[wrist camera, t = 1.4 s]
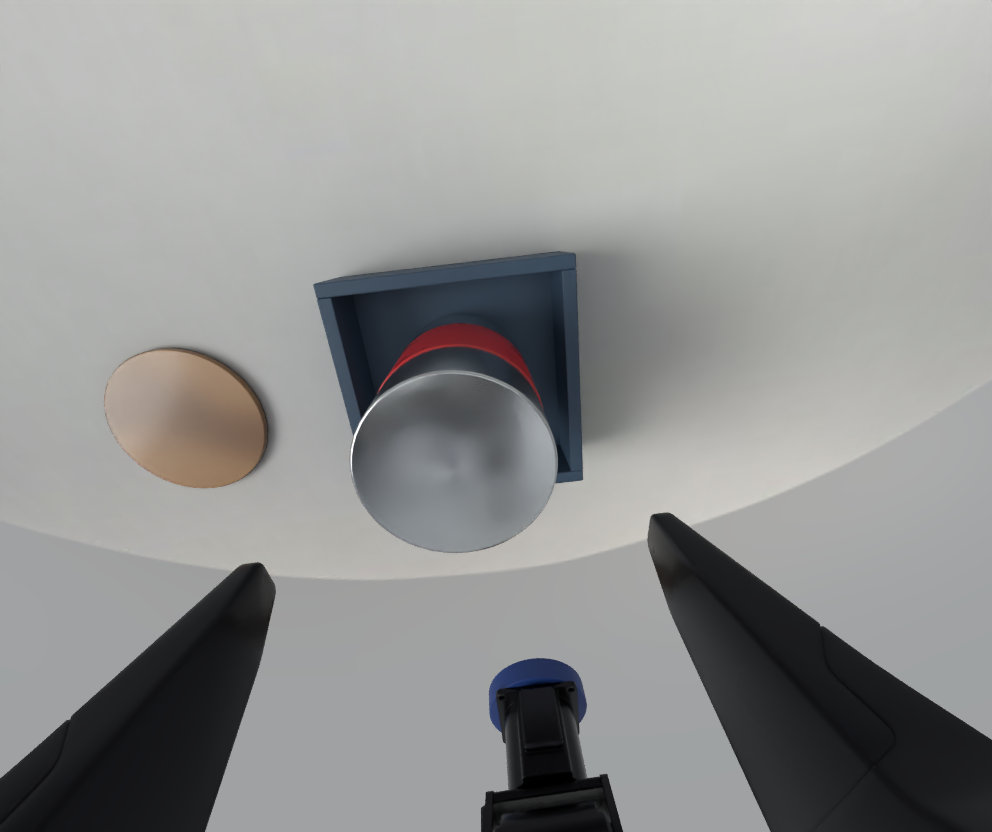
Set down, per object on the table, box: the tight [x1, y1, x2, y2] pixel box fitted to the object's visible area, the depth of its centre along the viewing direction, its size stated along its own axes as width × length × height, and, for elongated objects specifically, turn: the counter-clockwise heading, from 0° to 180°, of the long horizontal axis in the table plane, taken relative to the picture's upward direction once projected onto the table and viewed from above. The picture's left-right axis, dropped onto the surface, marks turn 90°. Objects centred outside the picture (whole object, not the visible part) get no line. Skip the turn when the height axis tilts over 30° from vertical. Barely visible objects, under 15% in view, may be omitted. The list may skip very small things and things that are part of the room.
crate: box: [314, 251, 583, 483], centre depth 21 cm, size 11×11×4 cm
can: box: [350, 313, 558, 553], centre depth 17 cm, size 6×6×10 cm
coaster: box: [104, 348, 268, 488], centre depth 22 cm, size 8×8×1 cm
